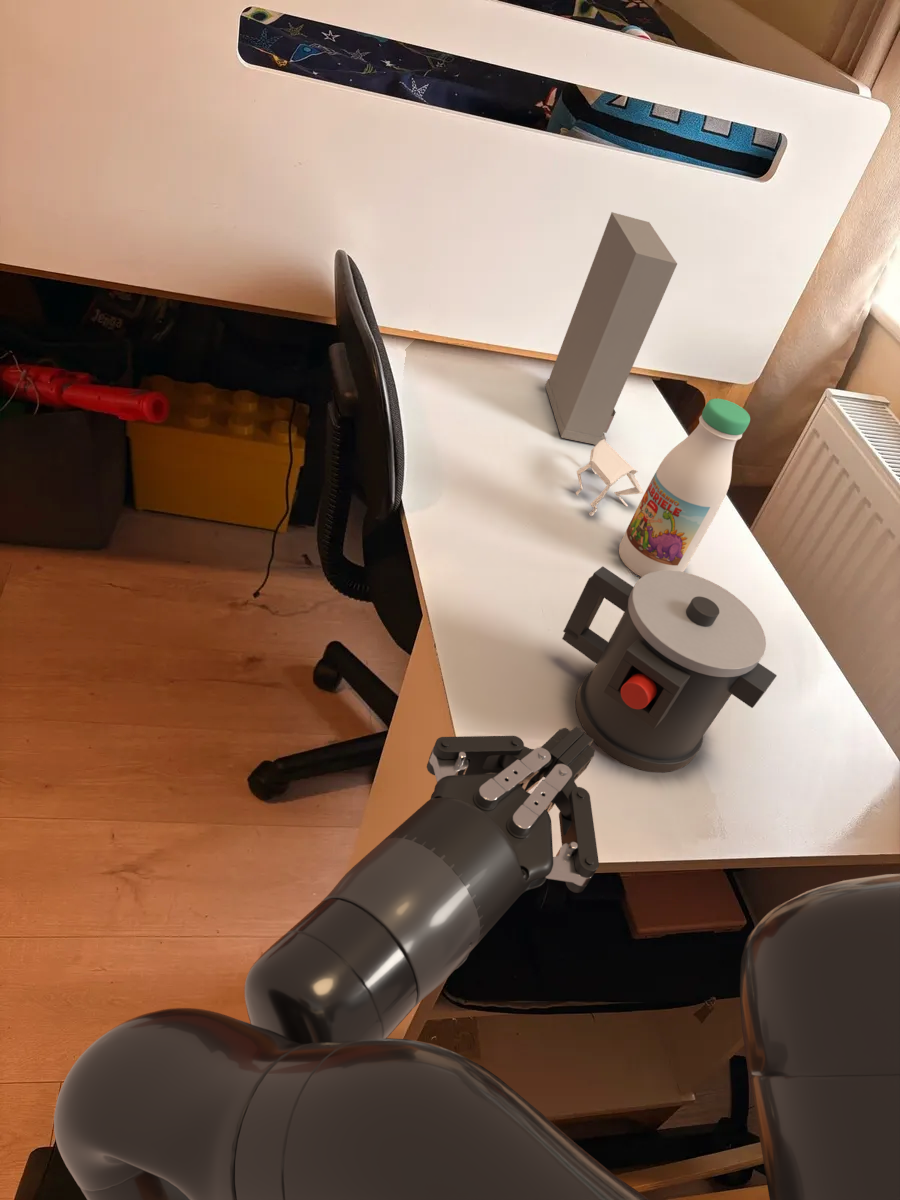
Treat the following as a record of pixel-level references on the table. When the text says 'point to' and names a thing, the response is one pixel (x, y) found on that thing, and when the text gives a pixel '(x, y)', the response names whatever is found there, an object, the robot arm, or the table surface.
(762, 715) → the table surface
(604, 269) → the tall grey pillar
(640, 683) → the kettle button
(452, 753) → the robot arm
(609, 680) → the kettle jug
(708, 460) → the milk bottle
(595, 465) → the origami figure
